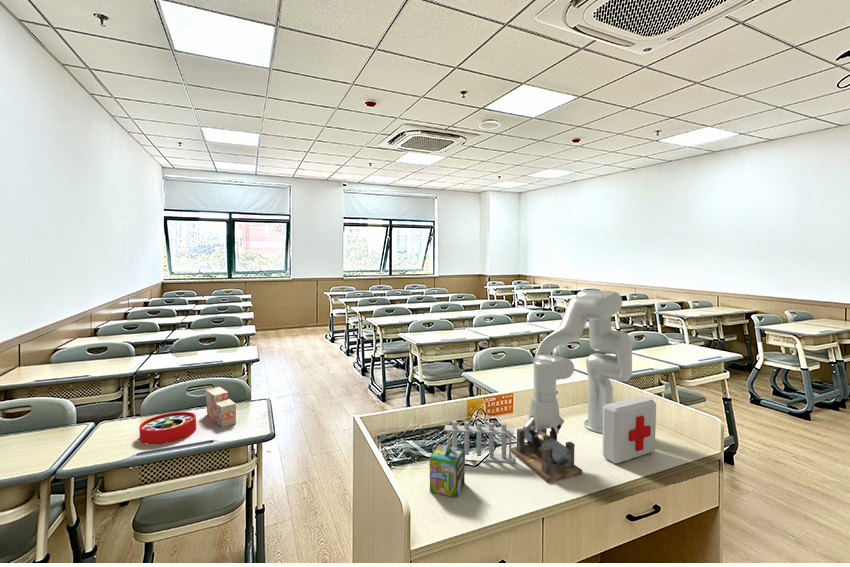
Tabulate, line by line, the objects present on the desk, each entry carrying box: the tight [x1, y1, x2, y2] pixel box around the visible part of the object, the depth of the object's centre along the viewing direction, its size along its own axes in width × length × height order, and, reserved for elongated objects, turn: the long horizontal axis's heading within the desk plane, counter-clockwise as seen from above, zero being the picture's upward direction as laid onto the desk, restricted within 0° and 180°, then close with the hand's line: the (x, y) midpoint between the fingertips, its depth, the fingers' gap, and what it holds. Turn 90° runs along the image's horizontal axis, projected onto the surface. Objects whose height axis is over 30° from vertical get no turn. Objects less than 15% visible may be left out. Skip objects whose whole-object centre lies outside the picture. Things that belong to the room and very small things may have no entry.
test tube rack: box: [443, 420, 516, 464], centre depth 143 cm, size 25×4×13 cm, turn 82°
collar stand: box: [511, 427, 583, 484], centre depth 140 cm, size 14×22×10 cm, turn 20°
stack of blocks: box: [205, 386, 237, 428], centre depth 182 cm, size 21×6×12 cm, turn 44°
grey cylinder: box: [522, 426, 571, 465], centre depth 140 cm, size 6×20×6 cm, turn 20°
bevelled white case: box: [601, 395, 657, 465], centre depth 143 cm, size 21×8×20 cm, turn 115°
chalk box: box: [429, 440, 466, 498], centre depth 125 cm, size 9×9×15 cm
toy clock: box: [138, 411, 197, 445], centre depth 167 cm, size 20×6×20 cm
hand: (544, 444), depth 140 cm, fingers open, 6 cm apart
